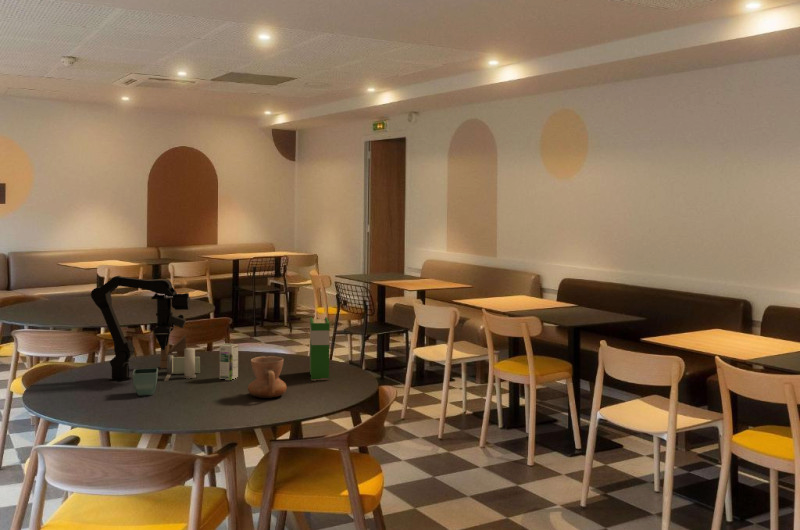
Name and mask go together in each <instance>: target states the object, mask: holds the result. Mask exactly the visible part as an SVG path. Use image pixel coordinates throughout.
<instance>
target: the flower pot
mask: <svg viewBox="0 0 800 530" xmlns="http://www.w3.org/2000/svg"><path fill="white" fill-rule="evenodd" d="M131 375H132V380H133V381H132V383H133V388H134V390H135V392H136V394H137V395H138V396H152V395H154V393H155V391H156V388H157V382H158V377H159V376H158V375H159V368H157V367H152V368H148V367H147V368H135V369H133V371H132V374H131Z"/></svg>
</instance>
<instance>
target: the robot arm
mask: <svg viewBox="0 0 800 530" xmlns="http://www.w3.org/2000/svg"><path fill="white" fill-rule="evenodd" d="M118 287H124V288H130V289H131V288H134V289H140V290H141V289H142V290H147V291H149V292H153V293H154V294H153V296H151V298H150V299H151V300H156V313H155V316H156V324H155V327H154V328H153V334H154V337H155V338H156V341H157V342H158V345H159V347H160V350H161V349H162V350H165V346H167V345H168V340H169V341H170V335H171V333H172V331H174V329H175V326H176V327H179V328H182V329H183V328H184V327H185V324H186V321H187V320H186V318H185V316H184V314H181V313H180V314H179V315H174V314H173V311H172V309H174V310H175V311H189V310H190V309H191V305H192V304H191V301H192V300H191V299H190V293H188V292H186V293H184V292H183V293H178V292H177V291H176V290H175V289H174V287H173V284H172V282H171V281H170V280H169V279H168V278H159V279H158V278H157V279H144V278H135V277H129V276H122V275H116V276H113V277H112V278H111V279H110V280H108V281H107V282H105V283H104V284H102V285H101V286H98V287H95V288H93V289H92V291H91V292H90V297H91V299H92V301H93V303H94V305H95V306H97V308H98V309H99V310H100V311H101V314H102V316H103V319H104V321H105V323H106V326H107V329H108V331H109V333H110V336H111V338H112V340H113V351H114V355H115V356H114V357H113V358H112V359H110V361H109V364H110V366H111V377H109V378H108V380H109V381H110V380H111V381H115V380H116V381H117V382H123V381H126V380H129V379H133V376H130V366H129V362H130V360H131V359H132V358H133V357H134V355H135V350H136V348H135V346H134V344H133V341H132V340H131V339H130V340H128V339H127V338H126V337H125V335H124V332H123V330H122V328H121V327H122V326H121V325H120V323H119V319H118V318H117V316H116V313H115V310H114V307H113V303H112V300H113V299H112V295H111V294H112V292H114V291H115V290H116V289H117V288H118Z"/></svg>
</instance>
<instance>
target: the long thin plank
mask: <svg viewBox="0 0 800 530" xmlns="http://www.w3.org/2000/svg"><path fill="white" fill-rule="evenodd" d="M173 357H174V355H172V354H169V355H167V368H166V371H167V372H166V376H165V378H164V380H163V382H169V380H170V379H171V376H172V374H173Z"/></svg>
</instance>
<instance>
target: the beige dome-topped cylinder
mask: <svg viewBox="0 0 800 530" xmlns="http://www.w3.org/2000/svg"><path fill="white" fill-rule="evenodd" d="M195 357H196V348H193V347H186V349H184V364H185V373H184V375H183V379H185V378H186V380H188V379H189V380H191V379H190V378H193V379H196V378H197V375H196V373H195Z"/></svg>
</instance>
